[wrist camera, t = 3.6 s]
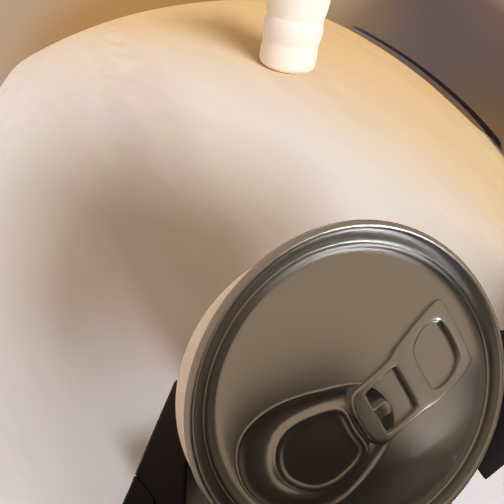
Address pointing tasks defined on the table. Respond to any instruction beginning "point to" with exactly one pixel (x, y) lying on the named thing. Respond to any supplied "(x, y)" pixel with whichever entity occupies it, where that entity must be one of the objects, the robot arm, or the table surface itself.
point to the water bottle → (292, 34)
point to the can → (343, 374)
